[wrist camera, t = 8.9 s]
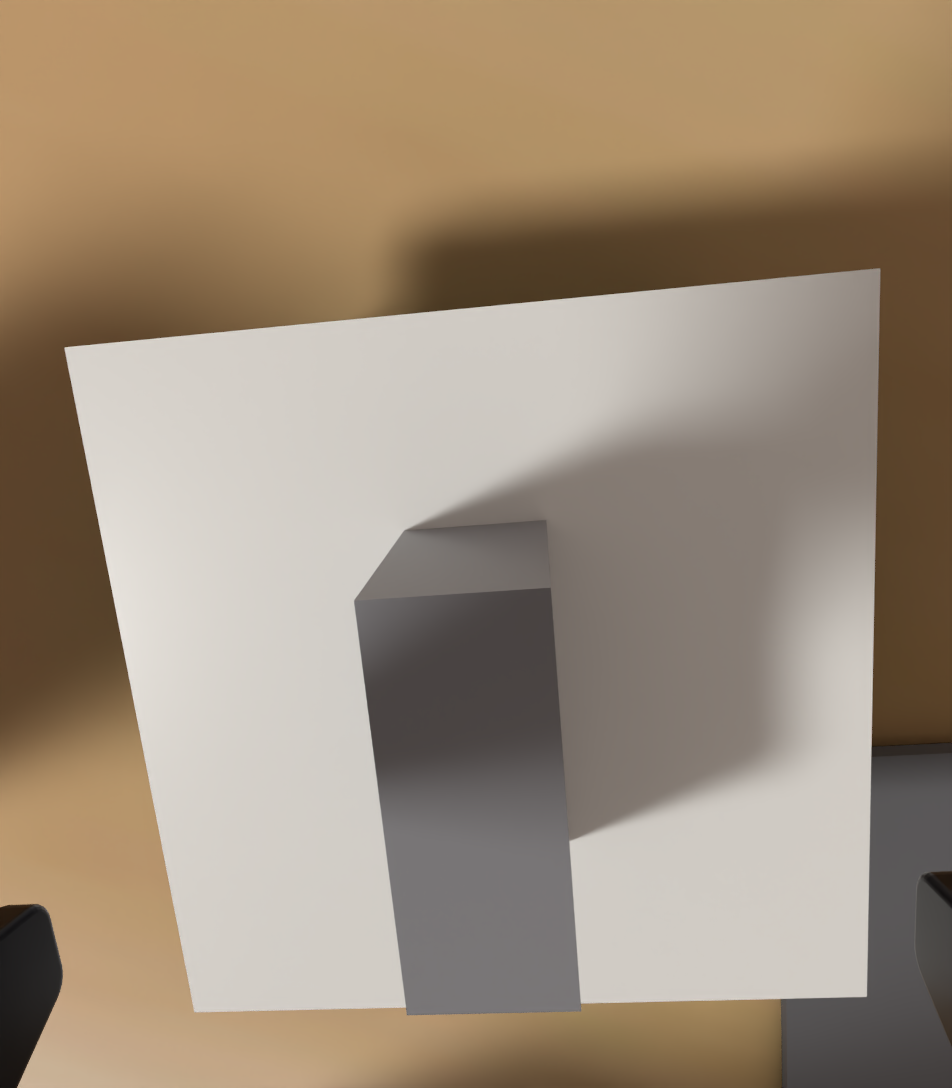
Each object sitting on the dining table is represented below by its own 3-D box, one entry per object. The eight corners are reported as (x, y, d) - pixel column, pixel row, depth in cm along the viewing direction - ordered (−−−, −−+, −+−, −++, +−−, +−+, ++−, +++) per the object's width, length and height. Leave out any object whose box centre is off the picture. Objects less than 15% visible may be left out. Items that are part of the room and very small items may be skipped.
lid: (850, 965, 16) (977, 1214, 12) (209, 982, 17) (90, 1214, 13) (860, 272, 13) (1035, 233, 9) (89, 347, 14) (-122, 347, 10)
